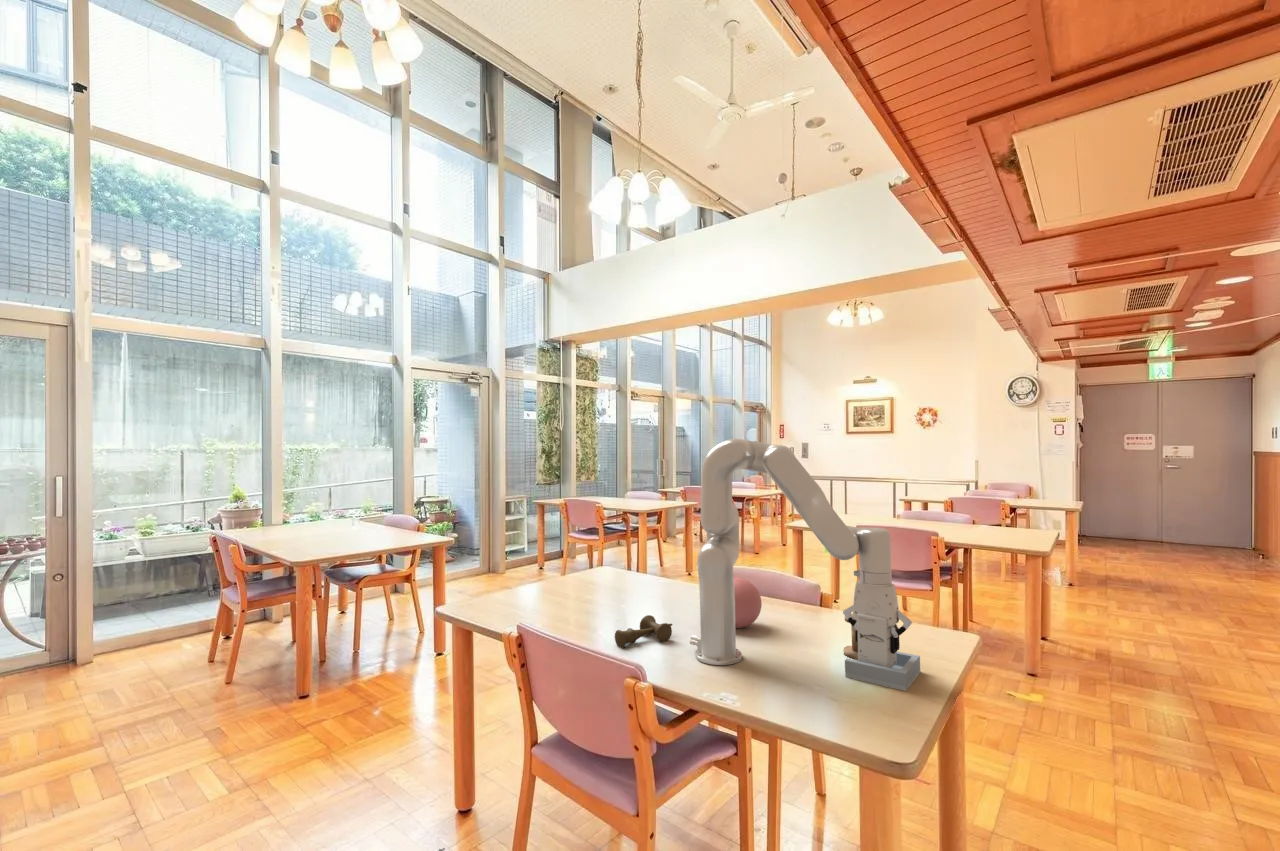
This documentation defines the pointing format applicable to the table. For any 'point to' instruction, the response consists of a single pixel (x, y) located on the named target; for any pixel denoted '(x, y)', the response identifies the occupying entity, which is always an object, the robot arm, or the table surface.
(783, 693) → the table surface
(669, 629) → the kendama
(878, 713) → the table surface
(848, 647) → the doorknob
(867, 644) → the supplement box
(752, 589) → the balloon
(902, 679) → the square tray
